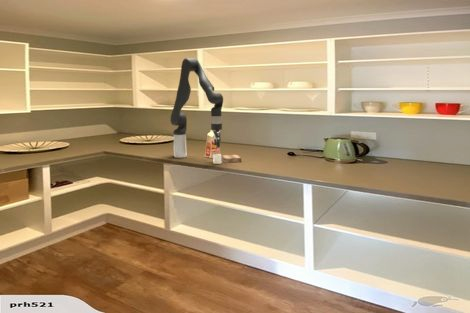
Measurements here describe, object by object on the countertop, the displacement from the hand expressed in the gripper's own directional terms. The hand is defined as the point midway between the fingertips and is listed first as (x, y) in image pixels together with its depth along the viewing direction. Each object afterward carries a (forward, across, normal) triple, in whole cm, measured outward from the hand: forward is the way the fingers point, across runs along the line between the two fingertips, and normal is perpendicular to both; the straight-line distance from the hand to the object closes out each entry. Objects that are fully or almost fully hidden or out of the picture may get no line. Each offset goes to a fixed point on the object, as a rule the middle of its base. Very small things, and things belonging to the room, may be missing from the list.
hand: (217, 146), depth 263 cm
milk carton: (+12, -24, +1) cm, 27 cm away
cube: (+12, 0, 0) cm, 12 cm away
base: (+12, -5, +11) cm, 17 cm away
